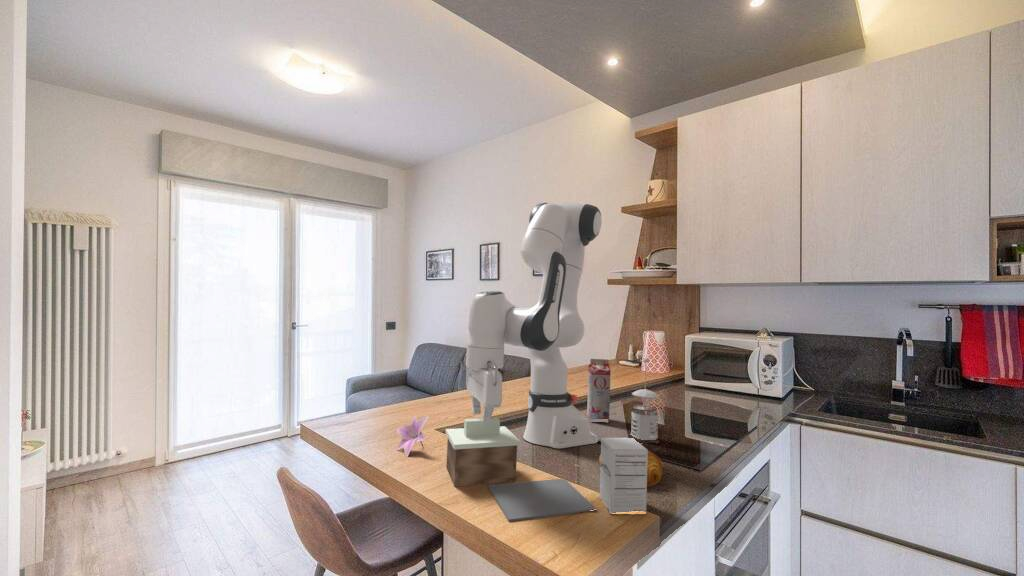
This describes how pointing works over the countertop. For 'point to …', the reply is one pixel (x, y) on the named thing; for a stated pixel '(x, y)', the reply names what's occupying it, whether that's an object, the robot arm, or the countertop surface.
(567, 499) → the mat
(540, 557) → the countertop surface
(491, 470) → the box
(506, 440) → the lid
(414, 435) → the lily
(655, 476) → the croissant
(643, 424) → the french press
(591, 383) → the juice carton
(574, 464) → the countertop surface
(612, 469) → the supplement box
